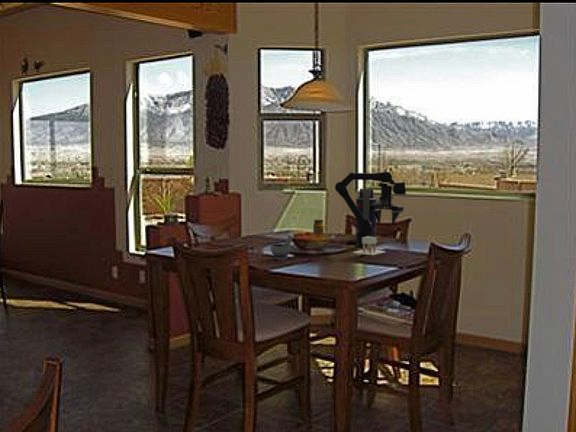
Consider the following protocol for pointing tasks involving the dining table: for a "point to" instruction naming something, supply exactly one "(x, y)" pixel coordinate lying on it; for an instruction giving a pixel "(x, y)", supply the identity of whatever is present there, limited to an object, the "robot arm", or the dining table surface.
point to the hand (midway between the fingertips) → (386, 223)
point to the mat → (368, 252)
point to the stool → (369, 243)
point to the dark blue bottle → (366, 209)
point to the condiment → (318, 227)
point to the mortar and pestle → (282, 249)
